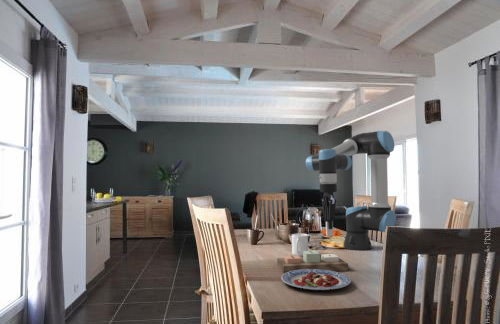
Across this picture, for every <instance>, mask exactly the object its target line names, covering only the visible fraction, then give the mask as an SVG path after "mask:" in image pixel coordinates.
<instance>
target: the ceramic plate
mask: <svg viewBox="0 0 500 324" xmlns="http://www.w3.org/2000/svg"><path fill="white" fill-rule="evenodd" d="M280 279H281V281H282V282H283V283H285V284H287V285H288V286H290V287H295V288H300V289H302V288H303V289H304V290H307V289H308V290H309V291H318V290H322V291H330V289H331V290H336V289H341V288H344V287H345V288H346V287H347V286H349V285H350V284H351V282H352V280H351V278H350V277H349V276H348V275H346V274H344V273H342V272H339V271H329V270H321V269H301V270H294V271H290V272H287V273H283V274H282V275H281V278H280ZM308 290H307V291H308Z"/></svg>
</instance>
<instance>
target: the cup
mask: <svg viewBox="0 0 500 324" xmlns="http://www.w3.org/2000/svg"><path fill="white" fill-rule="evenodd" d="M303 251H309V235H308V234H307V233H293V234H291V254H292V255H298V256H299V257H303Z"/></svg>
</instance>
